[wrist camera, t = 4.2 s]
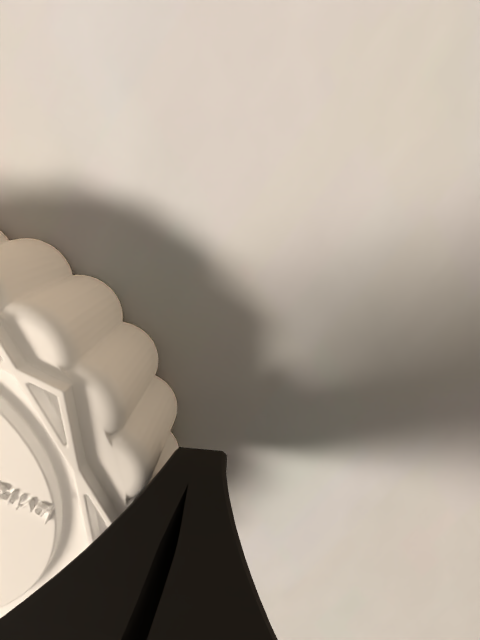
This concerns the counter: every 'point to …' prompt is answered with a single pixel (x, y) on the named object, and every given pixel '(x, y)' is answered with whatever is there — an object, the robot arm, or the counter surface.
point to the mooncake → (69, 414)
